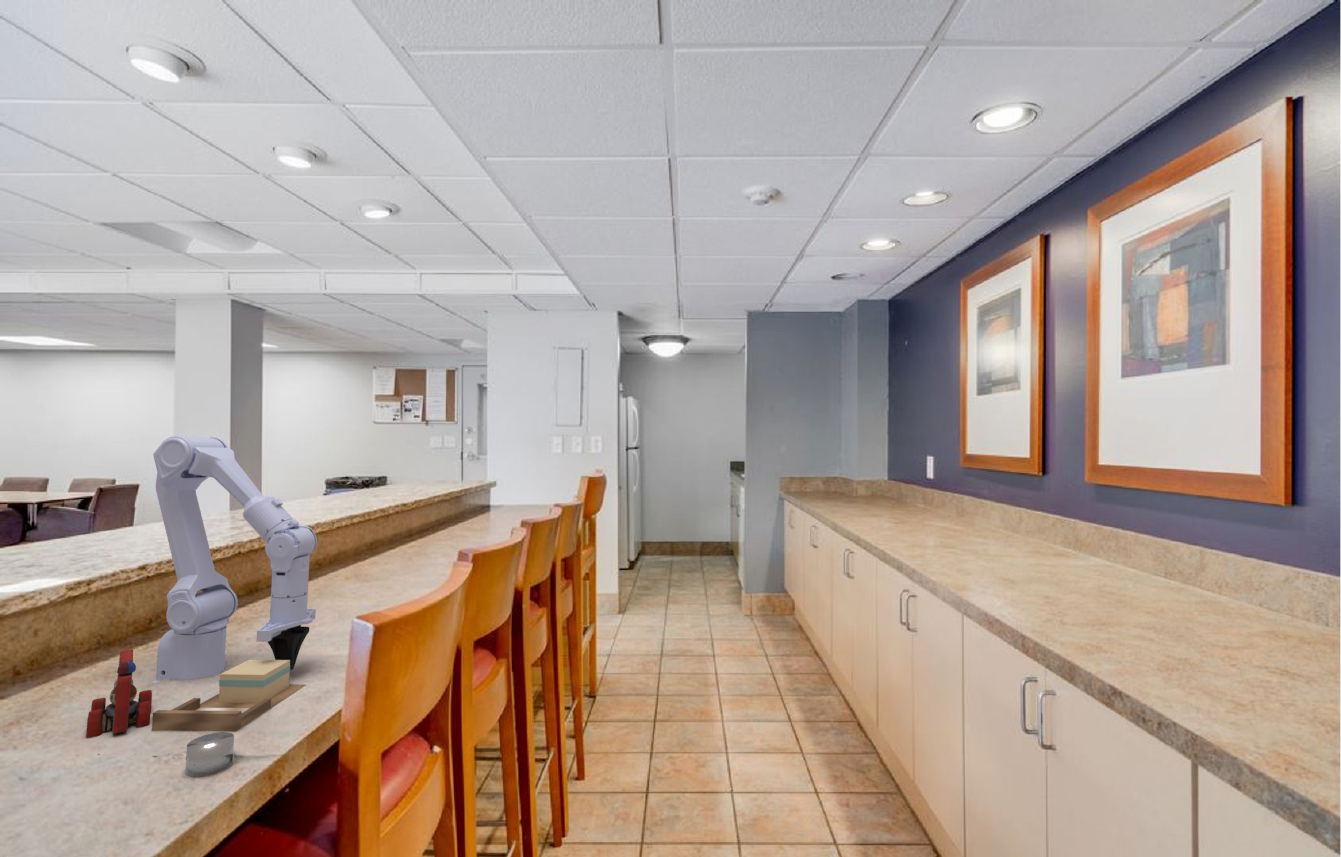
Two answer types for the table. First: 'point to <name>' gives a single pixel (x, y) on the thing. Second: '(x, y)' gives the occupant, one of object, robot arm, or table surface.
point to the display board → (216, 713)
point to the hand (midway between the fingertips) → (285, 670)
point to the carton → (254, 681)
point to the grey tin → (209, 754)
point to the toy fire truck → (120, 703)
